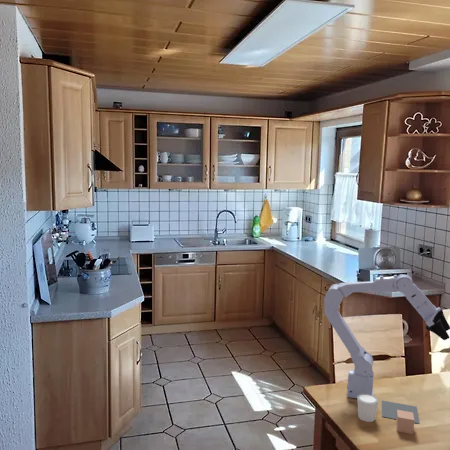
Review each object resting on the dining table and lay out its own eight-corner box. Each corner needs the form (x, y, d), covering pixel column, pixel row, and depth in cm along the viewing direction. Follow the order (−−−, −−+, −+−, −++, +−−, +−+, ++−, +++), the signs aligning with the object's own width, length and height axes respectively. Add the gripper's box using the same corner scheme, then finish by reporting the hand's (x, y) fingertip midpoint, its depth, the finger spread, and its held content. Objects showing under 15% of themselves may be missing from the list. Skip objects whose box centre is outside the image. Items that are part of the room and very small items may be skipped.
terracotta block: (396, 431, 142) (397, 417, 142) (396, 423, 147) (397, 409, 146) (413, 434, 140) (414, 420, 140) (412, 426, 145) (413, 412, 145)
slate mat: (382, 416, 151) (382, 416, 151) (381, 400, 162) (381, 400, 162) (419, 423, 147) (419, 423, 147) (416, 407, 158) (416, 406, 158)
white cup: (376, 424, 146) (377, 404, 145) (355, 420, 148) (356, 401, 147) (377, 414, 152) (378, 395, 151) (356, 410, 154) (357, 392, 154)
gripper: (429, 305, 148) (456, 337, 145) (432, 291, 160) (458, 320, 158) (411, 315, 151) (438, 347, 149) (416, 300, 163) (441, 329, 161)
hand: (447, 334), depth 153 cm, fingers open, 7 cm apart
